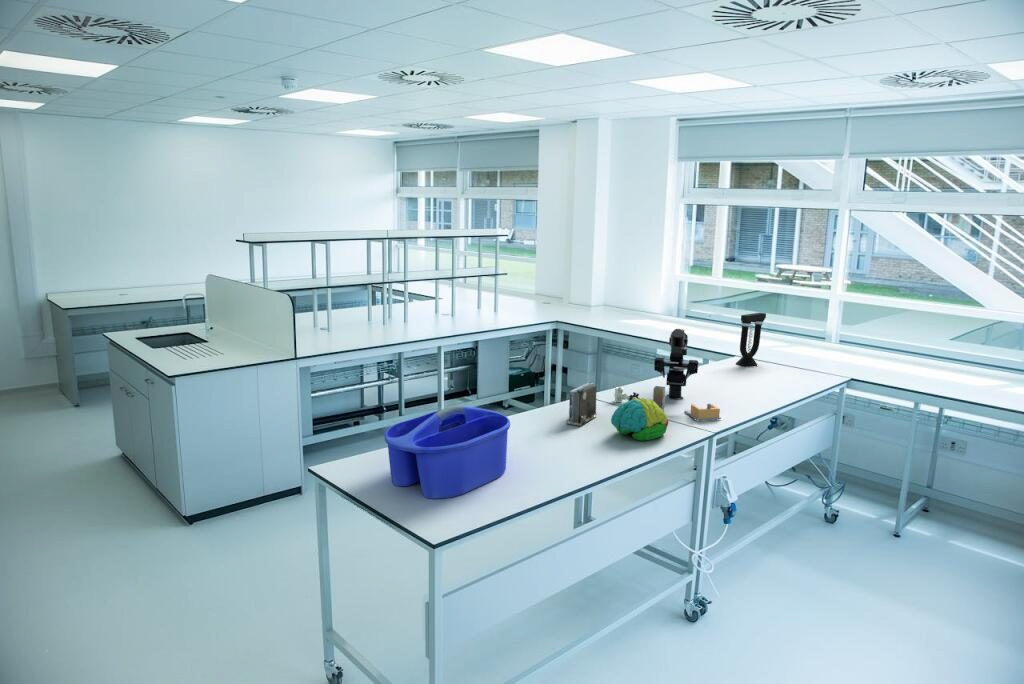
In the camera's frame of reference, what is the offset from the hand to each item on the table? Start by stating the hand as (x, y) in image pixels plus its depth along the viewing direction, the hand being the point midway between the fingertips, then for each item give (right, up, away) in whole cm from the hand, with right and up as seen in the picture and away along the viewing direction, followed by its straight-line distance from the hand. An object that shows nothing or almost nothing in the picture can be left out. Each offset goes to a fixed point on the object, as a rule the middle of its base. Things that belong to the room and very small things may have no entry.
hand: (675, 377), depth 281 cm
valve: (-19, -13, +17) cm, 28 cm away
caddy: (-91, -29, -67) cm, 117 cm away
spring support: (+68, +2, +99) cm, 120 cm away
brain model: (-21, -21, -27) cm, 40 cm away
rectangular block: (-8, -17, -3) cm, 19 cm away
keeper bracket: (+11, -16, -2) cm, 20 cm away
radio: (-41, -17, -6) cm, 45 cm away
